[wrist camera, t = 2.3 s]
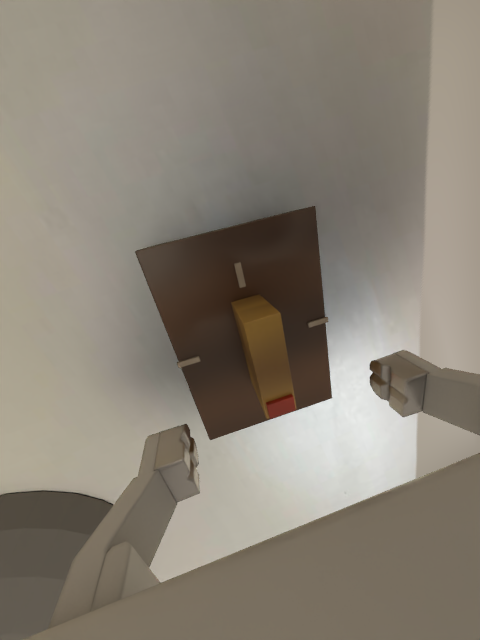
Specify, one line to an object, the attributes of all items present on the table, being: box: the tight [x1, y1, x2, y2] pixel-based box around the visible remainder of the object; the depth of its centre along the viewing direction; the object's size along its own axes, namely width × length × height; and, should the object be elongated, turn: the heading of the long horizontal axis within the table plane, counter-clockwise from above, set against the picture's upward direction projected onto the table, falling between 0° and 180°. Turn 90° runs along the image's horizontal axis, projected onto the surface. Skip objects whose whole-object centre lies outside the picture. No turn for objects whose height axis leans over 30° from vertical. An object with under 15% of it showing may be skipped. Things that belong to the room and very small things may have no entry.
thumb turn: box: [231, 294, 297, 419], centre depth 13 cm, size 6×2×4 cm, turn 13°
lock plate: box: [135, 206, 332, 440], centre depth 16 cm, size 14×10×3 cm
